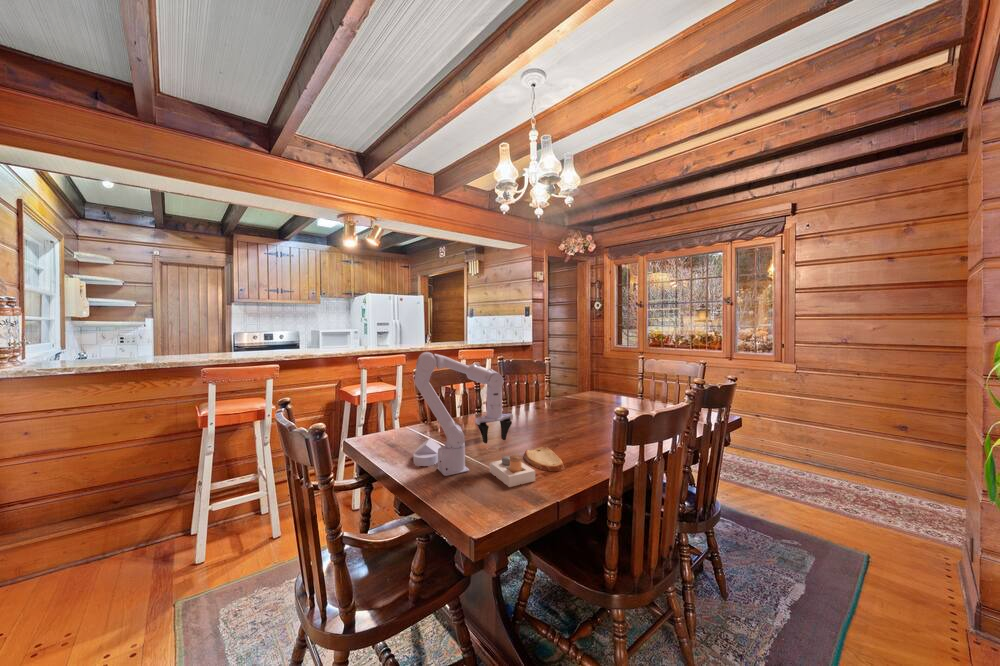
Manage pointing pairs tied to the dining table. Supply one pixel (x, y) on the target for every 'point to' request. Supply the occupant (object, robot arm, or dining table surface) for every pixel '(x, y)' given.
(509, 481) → the cream block with recess
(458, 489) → the dining table surface
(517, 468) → the orange tapered cylinder
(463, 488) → the dining table surface
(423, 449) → the wedge on round base
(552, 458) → the bread slice
